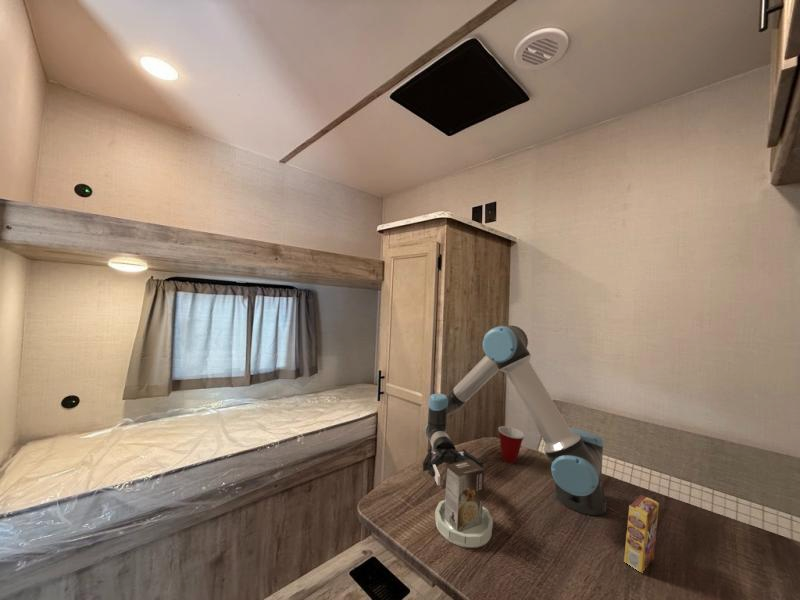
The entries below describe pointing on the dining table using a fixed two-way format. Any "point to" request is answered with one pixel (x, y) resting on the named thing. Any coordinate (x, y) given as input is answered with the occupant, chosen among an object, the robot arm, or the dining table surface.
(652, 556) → the candy box
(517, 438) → the plastic cup
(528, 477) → the dining table surface
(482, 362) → the robot arm
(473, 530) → the round dish
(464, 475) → the coffee box
